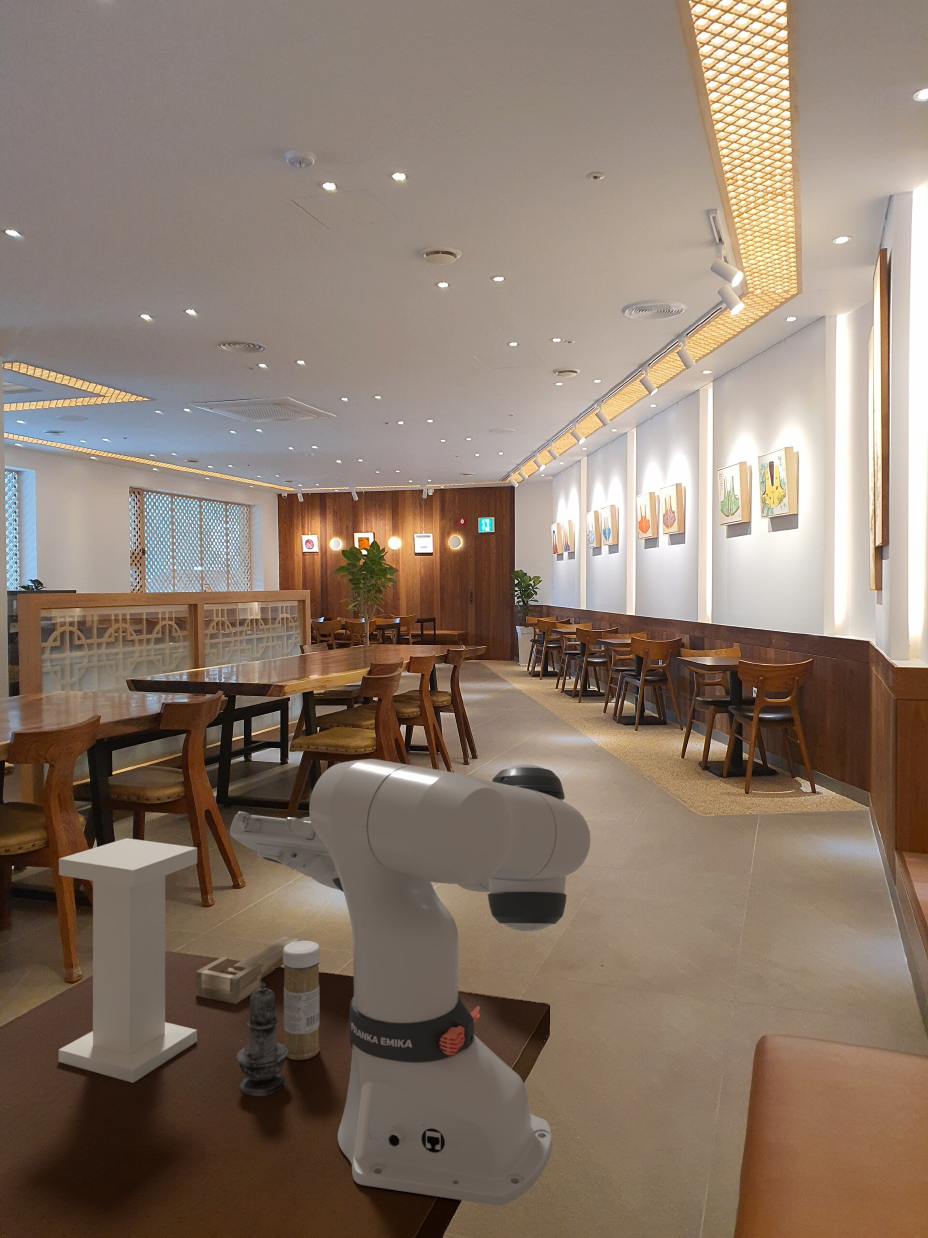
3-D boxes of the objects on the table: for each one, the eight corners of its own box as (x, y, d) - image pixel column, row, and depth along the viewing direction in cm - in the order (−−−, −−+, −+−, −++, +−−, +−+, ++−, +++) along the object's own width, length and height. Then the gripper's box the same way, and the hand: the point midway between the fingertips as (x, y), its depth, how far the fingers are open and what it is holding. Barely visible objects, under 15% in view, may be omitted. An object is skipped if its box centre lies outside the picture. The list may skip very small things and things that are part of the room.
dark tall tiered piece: (275, 1100, 99) (275, 994, 99) (227, 1094, 100) (227, 990, 100) (295, 1074, 105) (296, 974, 105) (250, 1068, 106) (250, 969, 106)
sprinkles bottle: (308, 1040, 113) (308, 936, 113) (326, 1054, 110) (326, 947, 110) (276, 1051, 110) (276, 945, 110) (293, 1066, 107) (294, 956, 107)
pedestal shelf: (196, 1041, 113) (197, 847, 113) (133, 1083, 103) (133, 870, 103) (126, 1024, 118) (126, 838, 118) (58, 1062, 108) (58, 858, 108)
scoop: (310, 956, 141) (310, 934, 141) (235, 1004, 124) (235, 979, 124) (273, 950, 144) (273, 928, 144) (196, 995, 127) (196, 971, 127)
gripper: (357, 871, 141) (315, 846, 130) (253, 857, 149) (206, 832, 138) (367, 833, 144) (327, 805, 133) (264, 821, 152) (219, 794, 141)
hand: (264, 819), depth 136 cm, fingers open, 8 cm apart
